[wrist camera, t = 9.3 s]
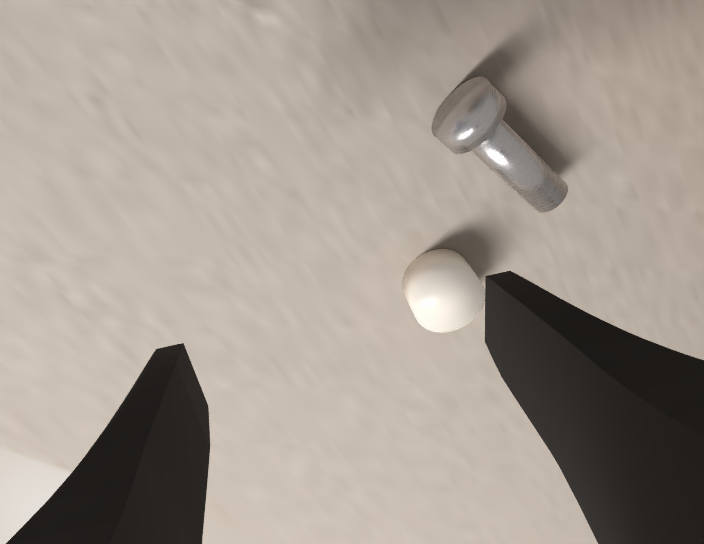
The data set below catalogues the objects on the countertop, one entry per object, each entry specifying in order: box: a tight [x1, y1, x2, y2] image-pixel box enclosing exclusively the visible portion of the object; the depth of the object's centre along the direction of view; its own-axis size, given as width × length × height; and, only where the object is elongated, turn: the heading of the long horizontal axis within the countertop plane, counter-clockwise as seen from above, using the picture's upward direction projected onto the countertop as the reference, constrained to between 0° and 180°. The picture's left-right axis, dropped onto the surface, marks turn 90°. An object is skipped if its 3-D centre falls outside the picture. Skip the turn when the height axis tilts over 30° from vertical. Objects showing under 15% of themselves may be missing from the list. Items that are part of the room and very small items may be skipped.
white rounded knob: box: [402, 249, 485, 332], centre depth 24 cm, size 3×3×2 cm
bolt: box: [432, 77, 568, 212], centre depth 21 cm, size 6×3×3 cm, turn 49°
